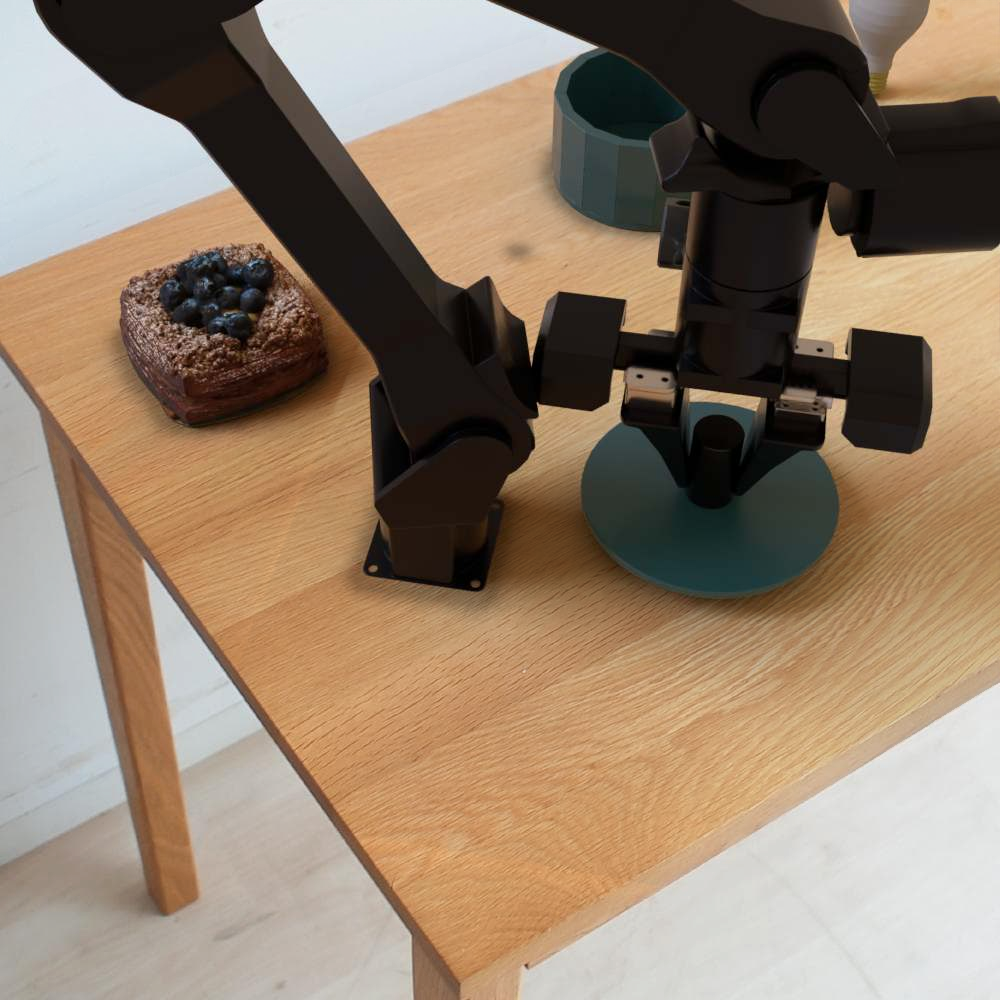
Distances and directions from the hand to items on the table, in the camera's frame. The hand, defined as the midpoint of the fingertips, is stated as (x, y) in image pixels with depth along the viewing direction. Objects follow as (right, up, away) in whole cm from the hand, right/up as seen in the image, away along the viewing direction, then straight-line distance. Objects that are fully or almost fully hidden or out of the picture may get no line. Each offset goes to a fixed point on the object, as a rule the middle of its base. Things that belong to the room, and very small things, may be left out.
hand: (710, 485), depth 76 cm
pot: (-1, +22, +23) cm, 32 cm away
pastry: (-28, +8, +12) cm, 31 cm away
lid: (0, -1, +1) cm, 1 cm away
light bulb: (+16, +29, +30) cm, 45 cm away
